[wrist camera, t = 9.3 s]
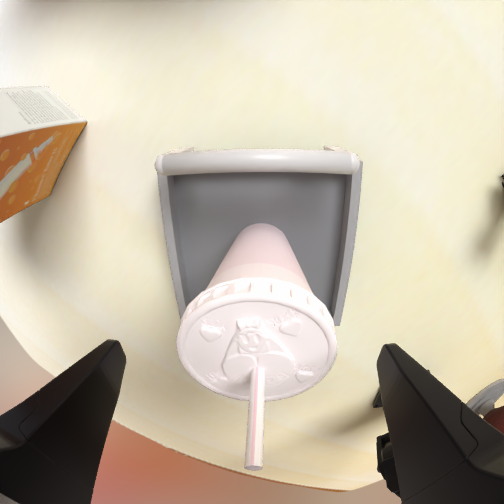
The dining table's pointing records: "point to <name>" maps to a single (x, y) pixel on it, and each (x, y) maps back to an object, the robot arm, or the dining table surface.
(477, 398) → the mate gourd
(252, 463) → the smoothie
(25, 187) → the small box
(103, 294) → the dining table surface
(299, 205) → the grey tray
